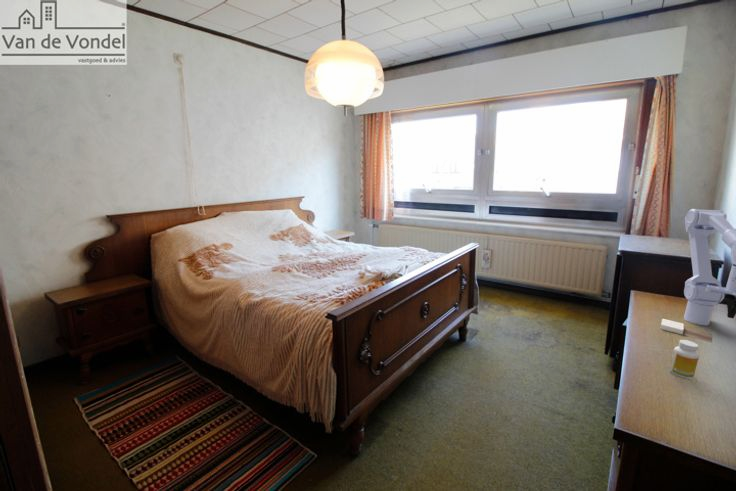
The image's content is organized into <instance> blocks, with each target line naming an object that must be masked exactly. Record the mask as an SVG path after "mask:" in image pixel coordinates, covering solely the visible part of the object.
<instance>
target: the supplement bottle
mask: <svg viewBox="0 0 736 491" xmlns="http://www.w3.org/2000/svg"><path fill="white" fill-rule="evenodd" d="M698 349H699V344H698V343H695V342H694V341H691V340H687V339H679V341H678V345H677V346H675V347H674V348H673V351H672V355H671V358H670V359H671V360H670V363H669V367H668V368H669V369H668V370H669V372H670V373H672V374H673V375H675V376H677V377H678V378H679V377H680V378H682V379H687V380H689V379H693V378H694V377H695V373H696V370H697V366H698V365H697V364H698V362H699V358H700V354H699V352H698Z"/></svg>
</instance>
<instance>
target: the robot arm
mask: <svg viewBox="0 0 736 491" xmlns="http://www.w3.org/2000/svg"><path fill="white" fill-rule="evenodd" d="M684 224H685V232H686V233H688V240H689V247H690V248H689V249H690V257H691V258H690V260H691V267H692V276H691V277H690V278H688V279H687V280H686V281H685V282H684V289H683V294H684V297H685V298H686V300H687V303H686V307H685V311H684V316H683V320H685V321H686V322H689V323H691V324H694V325H695V324H696V325H701V326H709V325H710V322H711V318H712V316H713V311H714V307H715V306H718V303H721V302H722V301H723V300H725V302H726V307H727V313H726V314H727V315H726V316H727V318H728V319H729V318H730V319H734V318H735V316H736V228H735V227H733V225H732V224H731V223H730V221H728V220H727V213H725V211H724V210H721V209H717V210H715V209H697V208H691V209H690V210H688V211H687V213H686V215H685V217H684ZM716 231H717V232H718V233H719V234H720V235H721V241H722V242H724V244H725V245H726V246H728V247H729V249H730V255H731V260H730V263H731V268H730V271H729V275H728V279H727V282H726V286H725V287H724V286H722V282H721V281H720V280H718V279H717V278H715V277H714V276H713V272H712V263H711V256H710V246H709V238H708V237H709V236H710V235H712V234H715V233H716Z"/></svg>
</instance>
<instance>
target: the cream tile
mask: <svg viewBox="0 0 736 491" xmlns="http://www.w3.org/2000/svg"><path fill="white" fill-rule="evenodd" d="M660 330H662V331H668V332H671V333H675V334H679V335H684V331H685V327H684V323H682V322H678V321H675V320H674V321H673V320H670V319H665V318H662V319H661V322H660Z"/></svg>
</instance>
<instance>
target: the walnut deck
mask: <svg viewBox="0 0 736 491" xmlns="http://www.w3.org/2000/svg"><path fill="white" fill-rule="evenodd" d="M684 336H685V337H690V338H693V339H697V340H701V341H705V342H708V343H713V337H712V336H713V334H711V333H707V332H704V331H699V330H695V329H691V328H688V327H684Z"/></svg>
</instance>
